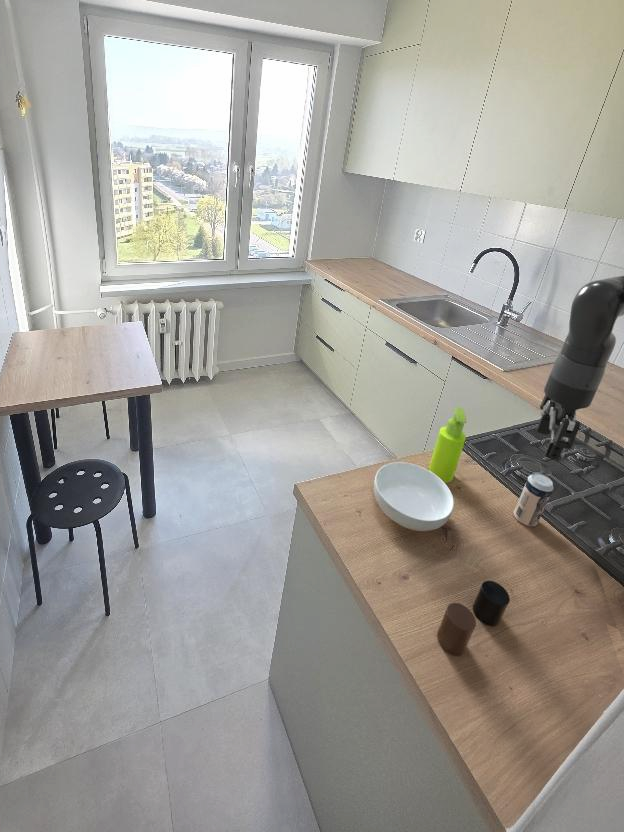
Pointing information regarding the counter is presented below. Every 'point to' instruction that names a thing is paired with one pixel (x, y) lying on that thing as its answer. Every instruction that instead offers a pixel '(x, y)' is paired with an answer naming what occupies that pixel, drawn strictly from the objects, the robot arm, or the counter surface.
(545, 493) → the beer can
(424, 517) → the cereal bowl
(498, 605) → the black post
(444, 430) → the soap dispenser
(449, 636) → the walnut post
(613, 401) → the counter surface
